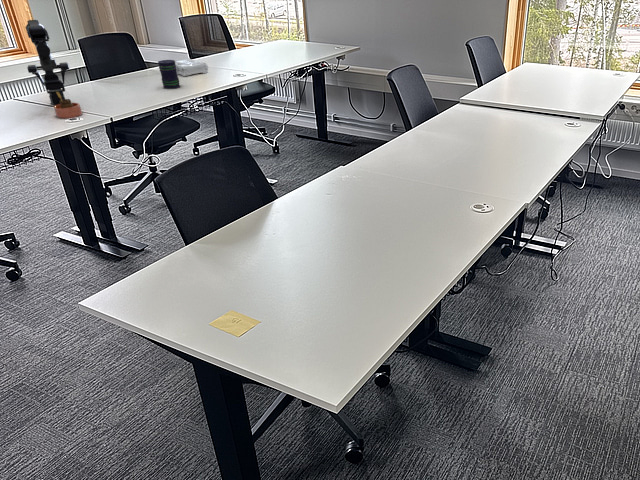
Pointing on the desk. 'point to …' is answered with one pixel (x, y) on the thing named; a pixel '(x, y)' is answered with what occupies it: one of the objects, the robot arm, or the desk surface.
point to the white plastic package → (190, 67)
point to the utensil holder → (65, 102)
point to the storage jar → (169, 74)
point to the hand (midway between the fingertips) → (54, 84)
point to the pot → (68, 111)
